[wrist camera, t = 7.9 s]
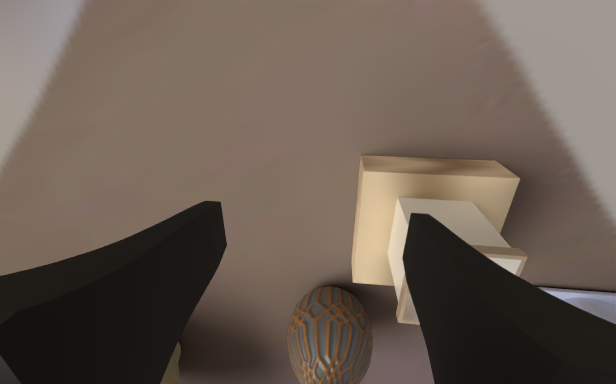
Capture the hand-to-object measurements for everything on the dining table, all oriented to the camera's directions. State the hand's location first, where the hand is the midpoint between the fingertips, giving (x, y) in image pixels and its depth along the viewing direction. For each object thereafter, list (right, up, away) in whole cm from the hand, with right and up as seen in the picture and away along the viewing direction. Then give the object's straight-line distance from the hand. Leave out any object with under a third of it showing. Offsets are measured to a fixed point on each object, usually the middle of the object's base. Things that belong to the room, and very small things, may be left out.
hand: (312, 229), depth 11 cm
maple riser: (+8, 0, +11) cm, 13 cm away
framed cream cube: (+8, -1, +8) cm, 11 cm away
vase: (+2, -9, +16) cm, 18 cm away
